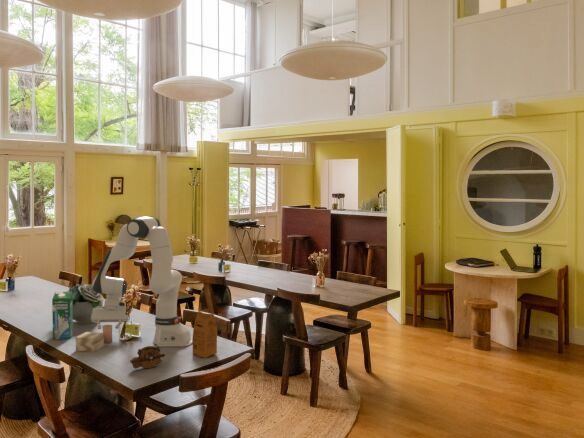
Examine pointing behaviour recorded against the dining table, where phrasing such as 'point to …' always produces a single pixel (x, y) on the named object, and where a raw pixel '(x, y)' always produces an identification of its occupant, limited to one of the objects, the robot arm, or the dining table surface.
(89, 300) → the flower arrangement
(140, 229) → the robot arm
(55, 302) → the milk carton
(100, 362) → the dining table surface
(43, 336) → the dining table surface
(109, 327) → the brown upright cylinder
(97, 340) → the beige patterned block
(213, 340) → the coffee package
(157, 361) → the wooden carving
